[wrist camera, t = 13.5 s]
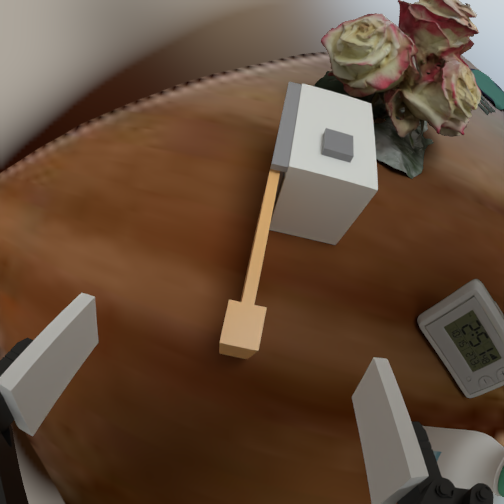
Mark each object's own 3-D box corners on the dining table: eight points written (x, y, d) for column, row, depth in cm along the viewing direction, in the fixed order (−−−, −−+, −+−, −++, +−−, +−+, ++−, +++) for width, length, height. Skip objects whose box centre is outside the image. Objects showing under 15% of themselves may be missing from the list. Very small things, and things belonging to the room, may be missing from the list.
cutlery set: (515, 110, 70) (518, 106, 68) (489, 121, 62) (493, 116, 60) (477, 71, 76) (479, 67, 74) (442, 74, 68) (445, 69, 66)
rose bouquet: (285, 110, 50) (324, -52, 23) (367, 68, 60) (410, -37, 32) (404, 209, 44) (522, 64, 17) (456, 139, 54) (526, 41, 27)
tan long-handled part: (246, 359, 32) (258, 350, 23) (219, 353, 32) (219, 342, 23) (274, 217, 39) (291, 168, 30) (251, 212, 39) (261, 161, 30)
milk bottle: (396, 419, 32) (519, 425, 14) (438, 430, 31) (555, 433, 13) (373, 474, 29) (484, 518, 11) (417, 482, 28) (527, 512, 10)
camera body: (335, 245, 40) (382, 184, 28) (256, 226, 40) (273, 155, 28) (340, 159, 47) (373, 93, 34) (274, 143, 46) (291, 70, 34)
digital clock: (408, 316, 38) (458, 292, 28) (447, 288, 40) (495, 261, 30) (451, 413, 32) (505, 412, 23) (486, 377, 35) (537, 368, 25)
